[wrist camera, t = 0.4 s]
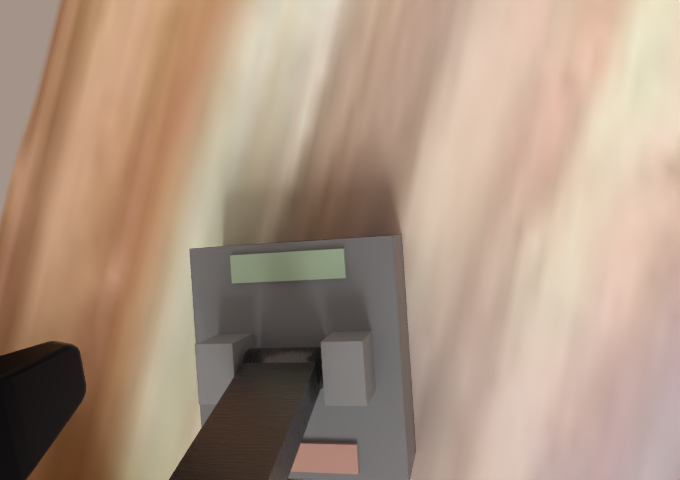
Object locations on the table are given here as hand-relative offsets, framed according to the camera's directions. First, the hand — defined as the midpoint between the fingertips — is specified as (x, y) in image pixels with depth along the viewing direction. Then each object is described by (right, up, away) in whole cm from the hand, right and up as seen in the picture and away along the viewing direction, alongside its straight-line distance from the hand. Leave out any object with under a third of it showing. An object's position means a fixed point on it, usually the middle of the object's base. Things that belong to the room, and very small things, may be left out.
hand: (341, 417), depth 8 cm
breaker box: (-1, -2, +17) cm, 17 cm away
